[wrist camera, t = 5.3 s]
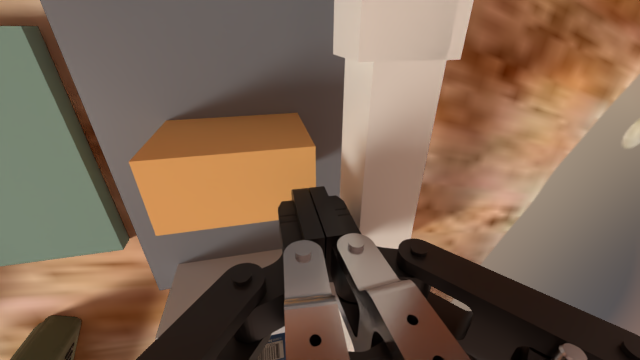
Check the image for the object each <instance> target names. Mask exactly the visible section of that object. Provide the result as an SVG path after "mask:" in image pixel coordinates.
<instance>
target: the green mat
mask: <svg viewBox="0 0 640 360" xmlns="http://www.w3.org/2000/svg"><path fill="white" fill-rule="evenodd" d="M128 241H129V236H128V234H127V232H126V229H125V227H124V225H123V222H122V220H121V218H120V216H119V213H118V211H117V209H116V206H115V204H114V202H113V199H112V197H111V195H110V192H109V190H108V188H107V185H106V183H105V181H104V179H103V176H102V174H101V172H100V169H99V167H98V165H97V162H96V160H95V158H94V155H93V153H92V151H91V148H90V146H89V144H88V141H87V139H86V137H85V135H84V132H83V130H82V128H81V125H80V123H79V121H78V118H77V116H76V114H75V111H74V109H73V107H72V104H71V102H70V100H69V98H68V95H67V93H66V91H65V88H64V86H63V84H62V81H61V79H60V77H59V74H58V72H57V70H56V67H55V65H54V63H53V60H52V58H51V56H50V54H49V51H48V49H47V47H46V44H45V42H44V40H43V37H42V35H41V33H40V30H39V28H38V26H0V266H7V265H14V264H22V263H29V262H37V261H44V260H51V259H59V258H66V257H73V256H81V255H88V254H95V253H103V252H110V251H118V250H123V249H124V248H125V246H126V244H127V242H128Z"/></svg>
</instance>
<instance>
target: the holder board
mask: <svg viewBox="0 0 640 360" xmlns="http://www.w3.org/2000/svg"><path fill="white" fill-rule="evenodd" d="M40 1H41V4H42V6H43V9H44V11H45V14H46V16H47V18H48V21H49V23H50V26H51V28H52V31H53V33H54V35H55V38H56V40H57V43H58V45H59V48H60V50H61V52H62V55H63V57H64V60H65V62H66V65H67V67H68V69H69V72H70V74H71V77H72V79H73V81H74V84H75V86H76V89H77V91H78V94H79V96H80V98H81V101H82V103H83V106H84V108H85V111H86V113H87V115H88V118H89V120H90V123H91V125H92V128H93V130H94V132H95V135H96V137H97V140H98V142H99V145H100V147H101V149H102V152H103V154H104V157H105V159H106V162H107V164H108V166H109V169H110V171H111V174H112V176H113V179H114V181H115V183H116V186H117V188H118V191H119V193H120V195H121V198H122V200H123V203H124V205H125V208H126V210H127V212H128V215H129V217H130V220H131V222H132V225H133V227H134V229H135V232H136V234H137V237H138V239H139V242H140V244H141V246H142V249H143V251H144V254H145V256H146V259H147V261H148V263H149V266H150V268H151V271H152V273H153V276H154V278H155V280H156V283H157V285H158V288H159V290H165V289H170V292H169V296H168V299H167V302H166V305H165V309H164V312H163V315H162V318H161V321H160V325H159V328H158V331H157V334H156V338H155V339H158V338H159V337H160V336H161V335H162V334H163V333H164V332H165V331H166V330H167V329H168V328H169V327H170V326H171V325H172V324H173V323H174V322H175V321H176V320H177V319H178V318H179V317H180V316H181V315H182V314H183V313H184V312H185V311H186V310H187V309H188V308H189V307H190V306H191V305H192V304H193V303H194V302H195V301H196V300H197V299H198V298H199V297H200V296H201V295H202V294H203V293H204V292H205V291H206V290H207V289H208V288H209V287H211V286H212V285H213V284H214V283H215V282H216V281H217V280H218V279H219V278H220V277H221V276H222V275H223V274H224V273H225V272H226V271H227V270H228V269H230V268H231V267H233V266H235V265H238V264H241V263H254V264H257V265H259V266H260V267H261V268H264V267H266V266H269V265H271V264H273V263H274V262H276V261H277V260H278V259H279V258H280V257H281V255H282V247H281V240H280V230H279V220H275V221H268V222H260V223H252V224H244V225H237V226H229V227H221V228H214V229H206V230H198V231H191V232H183V233H175V234H168V235H160V236H156V235H155V232H154V229H153V226H152V224H151V221H150V218H149V216H148V213H147V210H146V208H145V205H144V202H143V199H142V197H141V194H140V191H139V189H138V186H137V183H136V181H135V178H134V175H133V172H132V170H131V167H130V164H129V161H130V160H131V159H132V158H133V156H134V155H135V154H136V153H137V152H138V151H139V150H140V149H141V148H142V147H143V145H144V144H145V143H146V142H147V141H148V140H149V139H150V138H151V137H152V136H153V134H154V133H155V132H156V131H157V130H158V129H159V128H160V127H161V126H162V125H163V123H164V122H165V121H167V120H184V119H201V118H217V117H234V116H251V115H268V114H284V113H298V115H299V117H300V118H301V120H302V122H303V124H304V126H305V128H306V130H307V131H308V133H309V135H310V137H311V139H312V141H313V143H314V144H315V146H316V187H320V186H324V187H325V189H326V191H327V193H328V196H335V195H336V196H338V197H339V198H340V178H341V152H342V126H343V100H344V74H345V58H343V57H340V56H337V55H334V54H333V35H334V0H40ZM329 284H330V288H331V293H332V295H335V287H334V284H333V282H330V283H329ZM284 332H285V326H284V327H282V328H281V329H279V330H277V331H275V332H273V333H272V334H271V335H275V334H279V333H284Z"/></svg>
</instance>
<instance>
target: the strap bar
mask: <svg viewBox="0 0 640 360" xmlns="http://www.w3.org/2000/svg"><path fill="white" fill-rule="evenodd" d="M473 1H474V0H334V35H333V54H334V55H337V56H340V57H343V58H345V74H344V100H343V126H342V152H341V178H340V198H341V199H342V200H343V201H344V202H345V204H346V206H347V209H348V210H349V212H350V214H351V215H352V217H353V219H354V221H355V223H356V225H357V227H358V229H359V230H360V232H361V234H362V235H365V236H367V237H369V238H370V239H371V240H372V241H373V242H374V244H375V245H376V246H378V247H383V248H393V249H398V247H399V244H400V243H401V242H402V241H404V240H406V239H411V234H412V229H413V224H414V219H415V214H416V209H417V204H418V199H419V195H420V190H421V185H422V180H423V175H424V170H425V165H426V160H427V155H428V150H429V145H430V140H431V135H432V130H433V125H434V120H435V115H436V110H437V105H438V100H439V96H440V91H441V86H442V81H443V76H444V71H445V66H446V61H447V60H460V59H461V55H462V50H463V46H464V41H465V37H466V32H467V28H468V23H469V19H470V14H471V10H472V5H473ZM338 309H339V308H338ZM339 313H340V311H339ZM340 318H341V322H342V327H343V331H344V336H345V340H346V345H347V349H348V351H351V352H355V351H354V347H353V344H352V341H351V338H350V336H349V333H348V331H347V328H346V326H345V323H344V321H343V318H342V316H341V313H340Z"/></svg>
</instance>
